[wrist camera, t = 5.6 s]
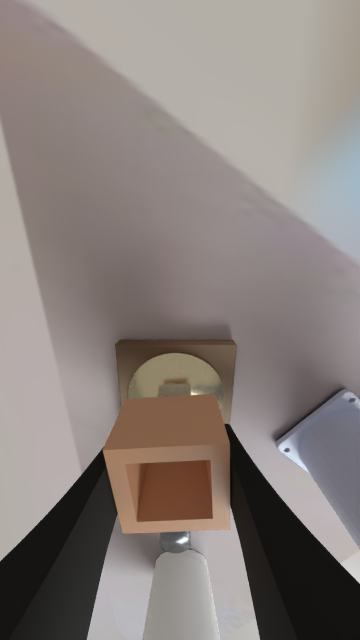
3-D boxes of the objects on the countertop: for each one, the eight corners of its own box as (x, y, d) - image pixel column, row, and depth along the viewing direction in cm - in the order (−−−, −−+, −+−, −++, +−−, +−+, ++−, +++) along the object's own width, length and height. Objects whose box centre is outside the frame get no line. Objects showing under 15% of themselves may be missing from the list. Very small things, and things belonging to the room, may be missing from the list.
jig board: (219, 500, 17) (221, 513, 16) (134, 499, 18) (131, 512, 17) (232, 340, 13) (236, 345, 12) (120, 339, 13) (115, 344, 12)
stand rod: (193, 479, 15) (196, 542, 12) (177, 492, 16) (176, 557, 12) (175, 468, 15) (173, 529, 11) (160, 481, 16) (153, 544, 12)
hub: (222, 348, 12) (240, 378, 9) (224, 431, 14) (239, 485, 10) (122, 355, 12) (96, 387, 9) (135, 436, 14) (120, 490, 11)
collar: (215, 393, 10) (229, 443, 7) (217, 462, 11) (230, 529, 8) (126, 398, 10) (102, 450, 7) (138, 466, 11) (122, 533, 8)
